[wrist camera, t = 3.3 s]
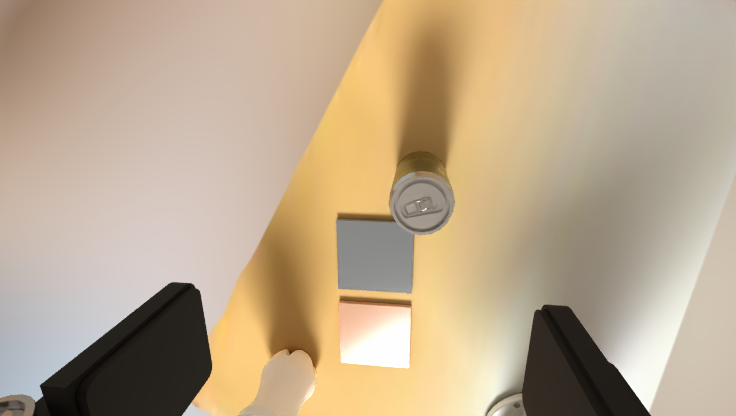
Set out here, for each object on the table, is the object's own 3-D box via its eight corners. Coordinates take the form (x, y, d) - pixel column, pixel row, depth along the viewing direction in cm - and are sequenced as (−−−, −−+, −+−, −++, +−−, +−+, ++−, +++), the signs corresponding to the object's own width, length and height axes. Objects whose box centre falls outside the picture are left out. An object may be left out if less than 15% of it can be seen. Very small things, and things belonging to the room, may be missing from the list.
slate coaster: (414, 221, 42) (414, 223, 42) (411, 290, 45) (411, 293, 44) (337, 218, 43) (336, 220, 43) (339, 286, 46) (338, 288, 46)
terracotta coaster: (411, 305, 46) (411, 307, 45) (408, 365, 48) (408, 368, 48) (339, 300, 47) (338, 302, 46) (341, 359, 49) (340, 362, 49)
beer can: (405, 204, 42) (401, 245, 30) (389, 160, 41) (378, 186, 29) (451, 189, 41) (464, 226, 29) (436, 143, 39) (443, 163, 28)
